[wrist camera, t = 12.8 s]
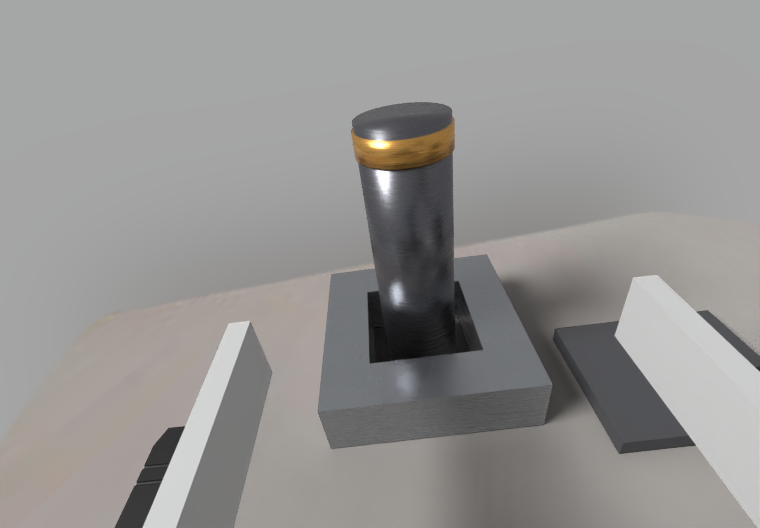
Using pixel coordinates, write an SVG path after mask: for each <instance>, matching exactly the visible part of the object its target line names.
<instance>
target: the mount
mask: <svg viewBox="0 0 760 528" xmlns="http://www.w3.org/2000/svg"><path fill="white" fill-rule="evenodd" d="M697 313H698V314H699V315H700V316H701V317H702V318H703V319H704V320H705V321H706V322H707V323H709V324H710V325H711V326H712V327H713V328H714V329H715V330H716V331H717V332H718V333H719V334H720V335H721V336H722V337H723V338H724V339H726V340H727V341H728V342H729V343H730V344H731V345H732V346H733V347H734V348H735V349H736V350H737V351H738V352H739V353H740V354H741V355H743V356H744V357H745V358H746V359H747V360H748V361H749V362H750V363H751V364H752V365H753V366H754V367H760V356H759V355H757V354H756V353H755V352H754V351H753V350H752V349H751V348H750V347H748V346H747V345H746V344H745V343H744V342H743V341H742V340H741V339H739V338H738V337H737V336H736V335H735V334H734V333H733V332H732V331H730V330H729V329H728V328H727V327H726V326H725V325H724V324H722V323H721V322H720V321H719V320H718V319H717V318H716V317H715V316H713V315H712V314H711V313H710V312H709V311H708V310H706V311H698V312H697ZM618 324H619V321H615V322H607V323H599V324H590V325H582V326H574V327H565V328H557V329H555V332H554V337H553V340H554V342H555V343H556V345H557V347H558V349H559V350H560V352H561V354H562V356H563V357H564V359H565V361H566V362H567V364H568V366H569V368H570V369H571V371H572V373H573V375H574V376H575V378H576V380H577V382H578V383H579V385H580V387H581V389H582V390H583V392H584V394H585V395H586V397H587V399H588V401H589V402H590V404H591V406H592V408H593V409H594V411H595V413H596V415H597V416H598V418H599V420H600V421H601V423H602V425H603V427H604V428H605V430H606V432H607V434H608V435H609V437H610V439H611V441H612V442H613V444H614V446H615V448H616V449H617V451H618V453H619V454H620V453H629V452H638V451H647V450H657V449H666V448H675V447H684V446H693V445H695V443H694V442H693V441H692V439H691V438H690V436H689V435H688V434H687V432H686V431H685V430H684V428H683V427H682V426H681V424H680V423H679V422H678V420H677V419H676V418H675V416H674V415H673V414H672V412H671V411H670V410H669V408H668V407H667V406H666V404H665V403H664V402H663V400H662V399H661V397H660V396H659V395H658V393H657V392H656V391H655V389H654V388H653V387H652V385H651V384H650V383H649V381H648V380H647V379H646V377H645V376H644V375H643V373H642V372H641V371H640V369H639V368H638V367H637V365H636V364H635V363H634V361H633V360H632V358H631V357H630V356H629V354H628V353H627V352H626V350H625V349H624V348H623V346H622V345H621V344H620V342H619V341H618V340H617V338H616V337H615V333H616V330H617V327H618Z"/></svg>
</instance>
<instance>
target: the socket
mask: <svg viewBox="0 0 760 528" xmlns="http://www.w3.org/2000/svg"><path fill="white" fill-rule="evenodd" d="M454 301H455V318H456V317H459V319H460V323H461V326H462V329H463V332H464V335H465V338H466V341H467V345H468V348H469V351H470V352H463V353H454V354H446V355H438V356H429V357H421V358H413V359H404V360H396V361H388V362H379V363H375V343H374V327H382V326H384V321H383V314H382V308H381V302H380V296H379V289H378V283H377V277H376V271H375V269H368V270H360V271H353V272H345V273H337V274H331V283H330V293H329V303H328V313H327V323H326V333H325V344H324V354H323V364H322V374H321V384H320V394H319V404H318V414H319V417H320V420H321V422H322V425H323V428H324V431H325V433H326V436H327V439H328V442H329V444H330V447H331V449H332V448H341V447H350V446H359V445H368V444H376V443H385V442H394V441H403V440H412V439H421V438H429V437H438V436H447V435H456V434H465V433H474V432H482V431H491V430H500V429H509V428H518V427H527V426H535V425H544V423H545V419H546V414H547V409H548V405H549V400H550V395H551V390H552V386H553V384H552V382H551V380H550V378H549V376H548V374H547V372H546V370H545V368H544V366H543V364H542V362H541V360H540V358H539V356H538V354H537V353H536V351H535V349H534V347H533V345H532V343H531V341H530V339H529V337H528V335H527V333H526V331H525V329H524V327H523V325H522V323H521V321H520V319H519V317H518V315H517V313H516V311H515V309H514V307H513V305H512V303H511V301H510V299H509V297H508V295H507V293H506V291H505V289H504V287H503V285H502V283H501V282H500V280H499V278H498V276H497V274H496V272H495V270H494V268H493V266H492V264H491V262H490V260H489V258H488V256H487V254H486V255H478V256H470V257H462V258H455V259H454Z"/></svg>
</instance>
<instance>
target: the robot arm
mask: <svg viewBox="0 0 760 528" xmlns="http://www.w3.org/2000/svg"><path fill="white" fill-rule="evenodd" d="M615 337H616V338H617V340H618V341H619V342H620V344H621V345H622V346H623V348H624V349H625V350H626V352H627V353H628V354H629V356H630V357H631V358H632V360H633V361H634V363H635V364H636V365H637V367H638V368H639V369H640V371H641V372H642V373H643V375H644V376H645V377H646V379H647V380H648V381H649V383H650V384H651V385H652V387H653V388H654V389H655V391H656V392H657V393H658V395H659V396H660V397H661V399H662V400H663V402H664V403H665V404H666V406H667V407H668V408H669V410H670V411H671V412H672V414H673V415H674V416H675V418H676V419H677V420H678V422H679V423H680V424H681V426H682V427H683V428H684V430H685V431H686V432H687V434H688V435H689V436H690V438H691V439H692V441H693V442H694V443H695V445H696V446H697V447H698V449H699V450H700V451H701V453H702V454H703V455H704V457H705V458H706V459H707V461H708V462H709V463H710V465H711V466H712V467H713V469H714V470H715V471H716V473H717V474H718V476H719V477H720V478H721V480H722V481H723V482H724V484H725V485H726V486H727V488H728V489H729V490H730V492H731V493H732V494H733V496H734V497H735V498H736V500H737V501H738V502H739V504H740V505H741V506H742V508H743V509H744V510H745V512H746V513H747V515H748V516H749V517H750V519H751V520H752V521H753V523H754V524H755V525H756V527H757V528H760V367H754V366H753V365H752V364H751V363H750V362H749V361H748V360H747V359H746V358H745V357H744V356H743V355H741V354H740V353H739V352H738V351H737V350H736V349H735V348H734V347H733V346H732V345H731V344H730V343H729V342H728V341H727V340H726V339H724V338H723V337H722V336H721V335H720V334H719V333H718V332H717V331H716V330H715V329H714V328H713V327H712V326H711V325H710V324H709V323H707V322H706V321H705V320H704V319H703V318H702V317H701V316H700V315H699V314H698V313H697V312H696V311H695V310H694V309H693V308H692V307H690V306H689V305H688V304H687V303H686V302H685V301H684V300H683V299H682V298H681V297H680V296H679V295H678V294H677V293H676V292H675V291H673V290H672V289H671V288H670V287H669V286H668V285H667V284H666V283H665V282H664V281H663V280H662V279H661V278H660V277H659V276H658V275H651V276H642V277H633V280H632V283H631V287H630V290H629V293H628V296H627V299H626V302H625V305H624V308H623V311H622V314H621V317H620V321H619V324H618V327H617V330H616V333H615ZM271 376H272V370H271V368H270V366H269V363H268V361H267V359H266V357H265V354H264V352H263V350H262V347H261V345H260V343H259V340H258V338H257V336H256V333H255V331H254V329H253V326H252V324H251V322H250V321H246V322H237V323H229V324H228V327H227V329H226V331H225V334H224V336H223V338H222V341H221V343H220V345H219V348H218V350H217V353H216V355H215V357H214V360H213V362H212V364H211V367H210V369H209V371H208V374H207V376H206V379H205V381H204V383H203V386H202V388H201V390H200V393H199V395H198V398H197V400H196V402H195V405H194V407H193V409H192V412H191V414H190V416H189V419H188V421H187V424H186V426H183V427H173V428H168V429H167V430H166V432H165V433H164V434H163V435H162V436H161V438H160V439H159V440H158V441H157V442H156V444H155V445H154V446H153V448H152V450H151V452H150V454H149V457H148V459H147V461H146V463H145V465H144V466H145V468H144V469H142V471H141V473H140V475H139V478H138V480H137V485H136V486H134V488H133V490H132V492H131V494H130V497H129V499H128V501H127V503H126V505H125V507H124V509H123V511H122V513H121V515H120V518H119V520H118V522H117V524H116V526H115V528H234V524H235V520H236V516H237V512H238V508H239V504H240V500H241V496H242V492H243V488H244V484H245V480H246V476H247V472H248V468H249V464H250V460H251V456H252V452H253V448H254V444H255V440H256V436H257V432H258V428H259V424H260V420H261V416H262V412H263V408H264V404H265V400H266V396H267V392H268V388H269V384H270V380H271Z"/></svg>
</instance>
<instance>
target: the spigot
mask: <svg viewBox="0 0 760 528" xmlns="http://www.w3.org/2000/svg"><path fill="white" fill-rule="evenodd" d="M352 126H353V128H352V130H351V134H352V140H353V146H354V152H355V158H356V160H357V162H358V164H359V170H360V176H361V183H362V188H363V195H364V201H365V208H366V214H367V220H368V227H369V233H370V239H371V245H372V252H373V258H374V264H375V271H376V277H377V283H378V289H379V296H380V302H381V308H382V314H383V321H384V327H385V333H386V340H387V346H388V352H389V358H390V361H396V360H404V359H413V358H421V357H429V356H438V355H446V354H454V353H455V301H454V227H453V157H452V156H453V155H452V154H453V151H454V148H455V146H454V145H455V144H454V143H455V142H454V141H455V140H454V139H455V137H454V136H455V134H454V118H453V117H452V109H451V108H450V107H448V106H446V105H443V104H438V103H428V102H415V103H402V104H395V105H389V106H385V107H380V108H376V109H372V110H370V111H366V112H364V113H362V114H360V115H358V116H356V117H355V118H354V119H353V120H352Z"/></svg>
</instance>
